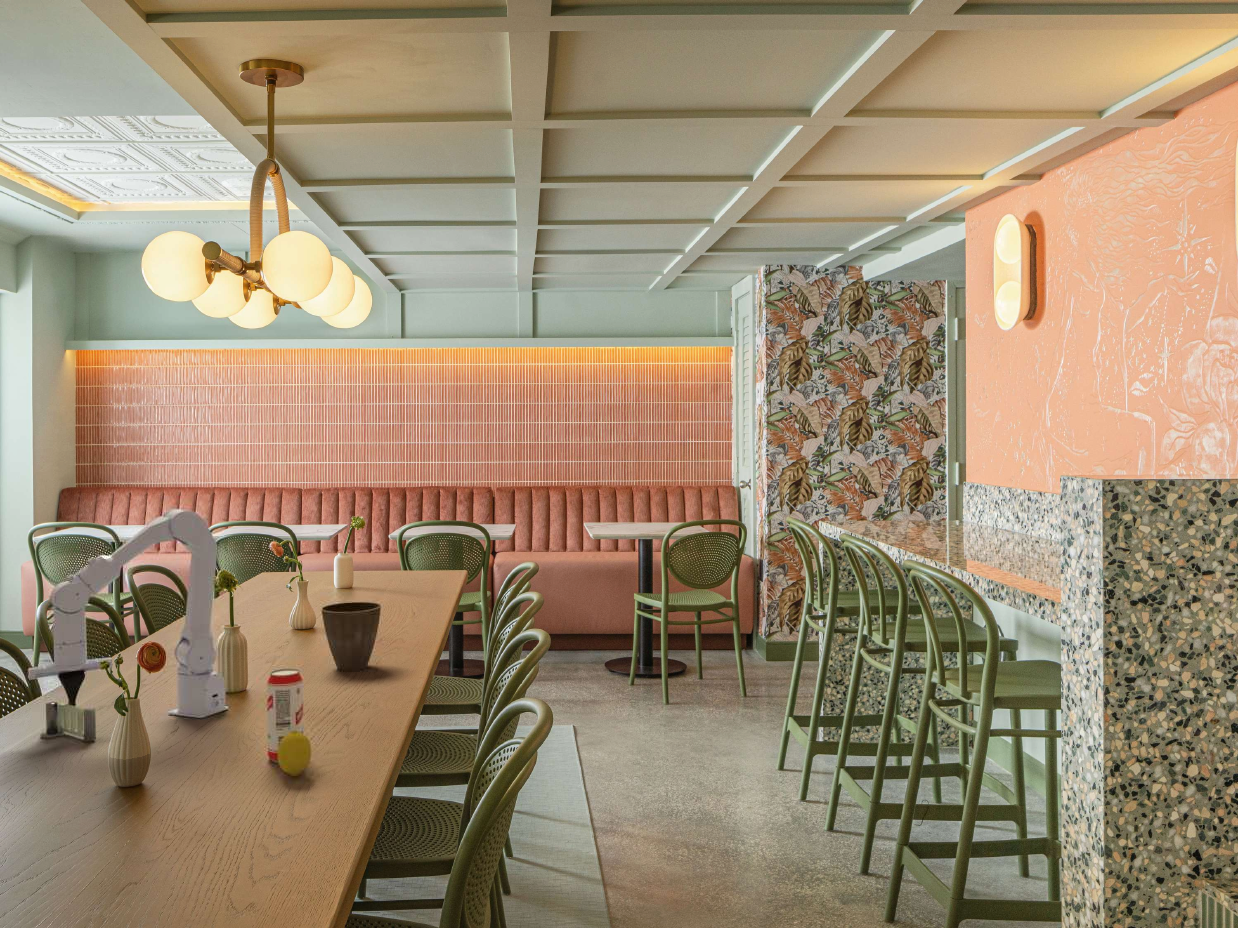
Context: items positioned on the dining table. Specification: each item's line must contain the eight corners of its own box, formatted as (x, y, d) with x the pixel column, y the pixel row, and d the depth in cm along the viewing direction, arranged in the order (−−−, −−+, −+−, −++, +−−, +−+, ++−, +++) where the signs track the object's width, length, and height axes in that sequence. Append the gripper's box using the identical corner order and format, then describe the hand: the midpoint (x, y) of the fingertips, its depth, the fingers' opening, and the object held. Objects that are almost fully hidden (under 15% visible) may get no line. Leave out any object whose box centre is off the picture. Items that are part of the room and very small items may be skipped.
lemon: (300, 768, 169) (299, 723, 169) (317, 775, 165) (317, 729, 165) (271, 776, 165) (271, 731, 165) (289, 783, 161) (288, 736, 161)
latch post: (68, 733, 190) (68, 701, 190) (49, 739, 186) (49, 706, 186) (54, 731, 192) (53, 699, 192) (35, 737, 188) (35, 704, 188)
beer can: (266, 765, 171) (265, 676, 170) (269, 754, 177) (268, 669, 176) (302, 762, 172) (301, 674, 172) (304, 751, 178) (303, 666, 178)
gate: (97, 739, 186) (97, 708, 185) (87, 741, 184) (87, 711, 184) (64, 729, 192) (64, 699, 192) (54, 731, 191) (54, 702, 190)
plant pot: (372, 674, 239) (371, 611, 239) (313, 674, 239) (313, 611, 239) (388, 661, 254) (387, 601, 254) (332, 661, 254) (332, 601, 254)
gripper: (30, 650, 183) (32, 720, 183) (114, 639, 192) (116, 706, 192) (25, 644, 189) (27, 712, 189) (107, 634, 198) (109, 699, 198)
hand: (71, 708), depth 191 cm, fingers closed, pressing on gate
